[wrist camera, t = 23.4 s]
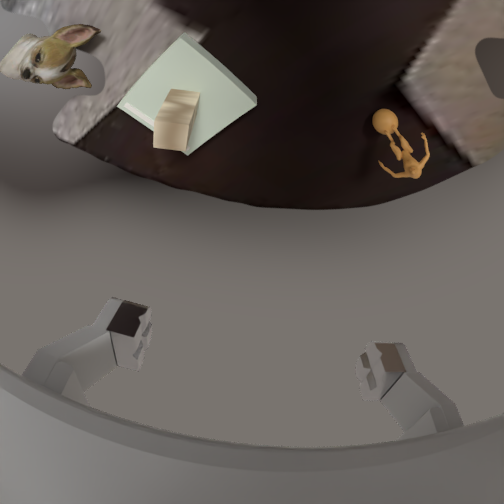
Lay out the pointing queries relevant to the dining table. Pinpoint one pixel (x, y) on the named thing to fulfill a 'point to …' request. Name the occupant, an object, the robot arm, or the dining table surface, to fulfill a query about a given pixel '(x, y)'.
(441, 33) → the dining table surface
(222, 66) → the sage board
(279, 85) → the dining table surface
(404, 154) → the figurine
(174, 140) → the tan block
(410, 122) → the dining table surface
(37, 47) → the ceramic sculpture
